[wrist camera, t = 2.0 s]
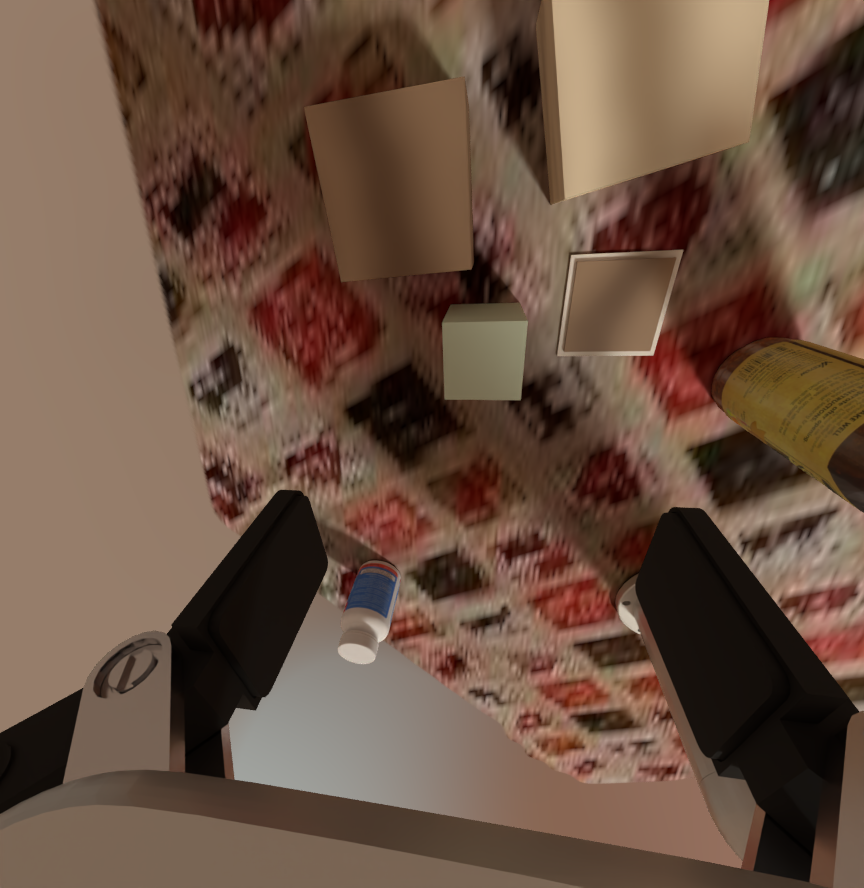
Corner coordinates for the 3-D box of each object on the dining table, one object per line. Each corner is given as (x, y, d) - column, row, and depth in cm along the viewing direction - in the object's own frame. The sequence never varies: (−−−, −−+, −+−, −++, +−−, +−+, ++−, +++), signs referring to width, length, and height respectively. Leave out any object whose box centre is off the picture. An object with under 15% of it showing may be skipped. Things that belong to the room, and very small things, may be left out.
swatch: (681, 249, 22) (685, 249, 22) (652, 354, 26) (654, 356, 25) (570, 254, 23) (572, 255, 23) (556, 355, 27) (557, 357, 26)
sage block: (519, 302, 25) (528, 320, 20) (514, 369, 28) (520, 400, 23) (450, 304, 26) (442, 322, 21) (451, 369, 28) (444, 399, 23)
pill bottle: (353, 560, 43) (321, 639, 35) (393, 556, 41) (370, 637, 33) (368, 588, 45) (342, 668, 37) (407, 586, 44) (389, 667, 36)
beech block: (711, -51, 16) (790, -149, 12) (693, 160, 20) (749, 141, 16) (535, 26, 18) (549, -34, 14) (550, 205, 22) (564, 199, 18)
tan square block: (469, 108, 20) (464, 76, 16) (474, 262, 24) (471, 269, 20) (339, 130, 21) (303, 106, 17) (365, 273, 26) (341, 282, 21)
